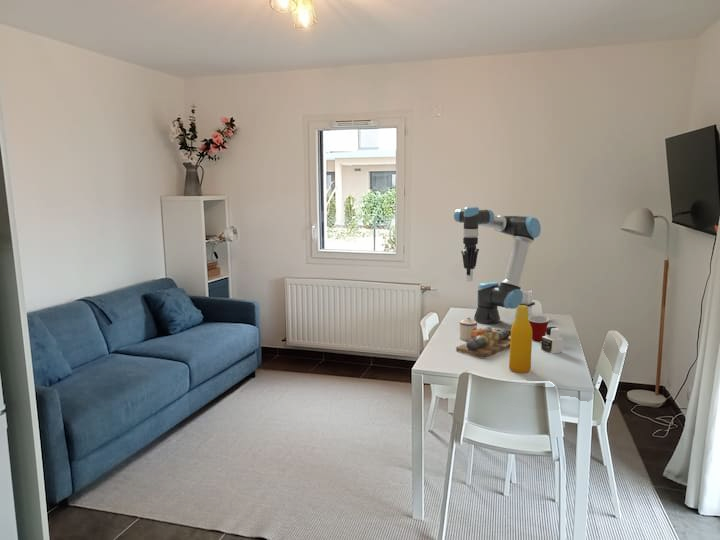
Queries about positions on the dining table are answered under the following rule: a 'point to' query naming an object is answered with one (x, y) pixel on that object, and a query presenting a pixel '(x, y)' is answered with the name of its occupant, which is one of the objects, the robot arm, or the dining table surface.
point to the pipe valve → (487, 344)
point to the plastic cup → (538, 327)
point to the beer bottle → (521, 342)
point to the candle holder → (527, 301)
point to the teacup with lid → (467, 329)
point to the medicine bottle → (552, 341)
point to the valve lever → (481, 331)
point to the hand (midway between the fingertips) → (469, 280)
